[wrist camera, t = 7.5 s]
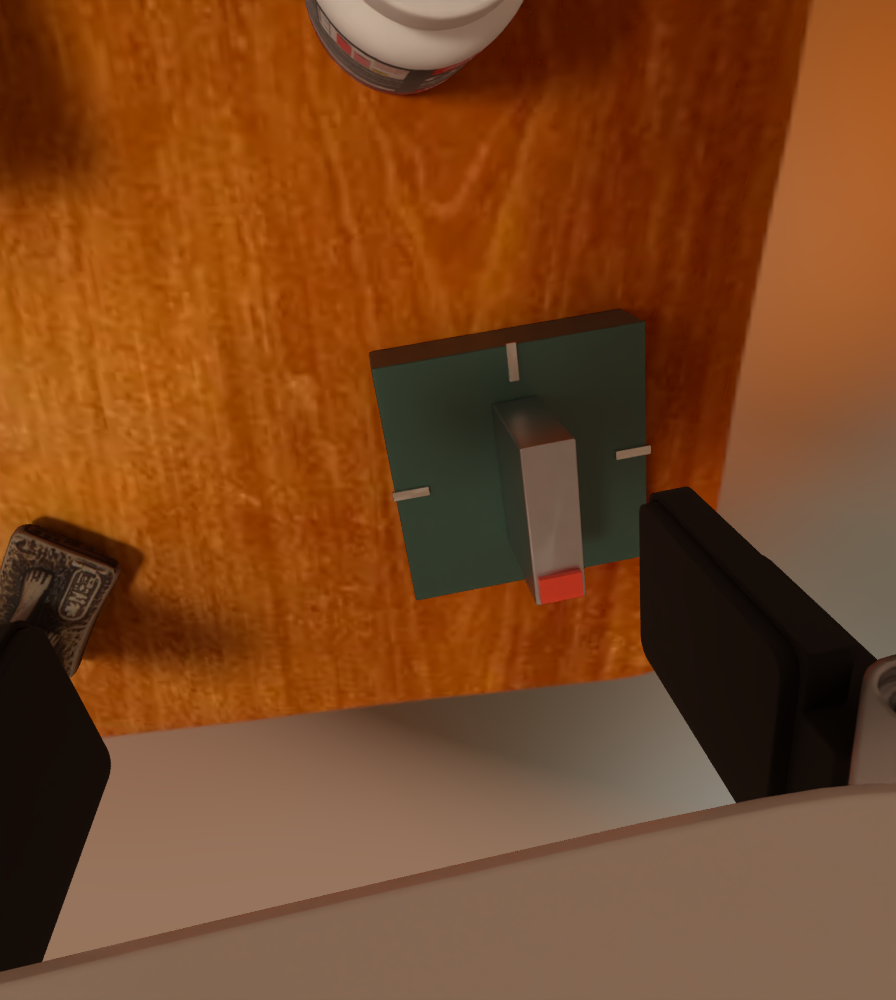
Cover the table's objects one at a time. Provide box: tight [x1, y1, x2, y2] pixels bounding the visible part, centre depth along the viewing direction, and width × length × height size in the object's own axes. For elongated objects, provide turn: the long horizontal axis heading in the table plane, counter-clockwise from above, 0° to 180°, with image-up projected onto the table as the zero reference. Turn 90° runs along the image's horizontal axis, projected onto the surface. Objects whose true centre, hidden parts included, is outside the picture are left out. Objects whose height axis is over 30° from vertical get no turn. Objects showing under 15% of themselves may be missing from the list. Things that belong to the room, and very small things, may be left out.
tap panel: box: [369, 309, 651, 600], centre depth 28 cm, size 10×10×3 cm
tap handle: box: [492, 396, 586, 605], centre depth 24 cm, size 6×2×5 cm, turn 8°
